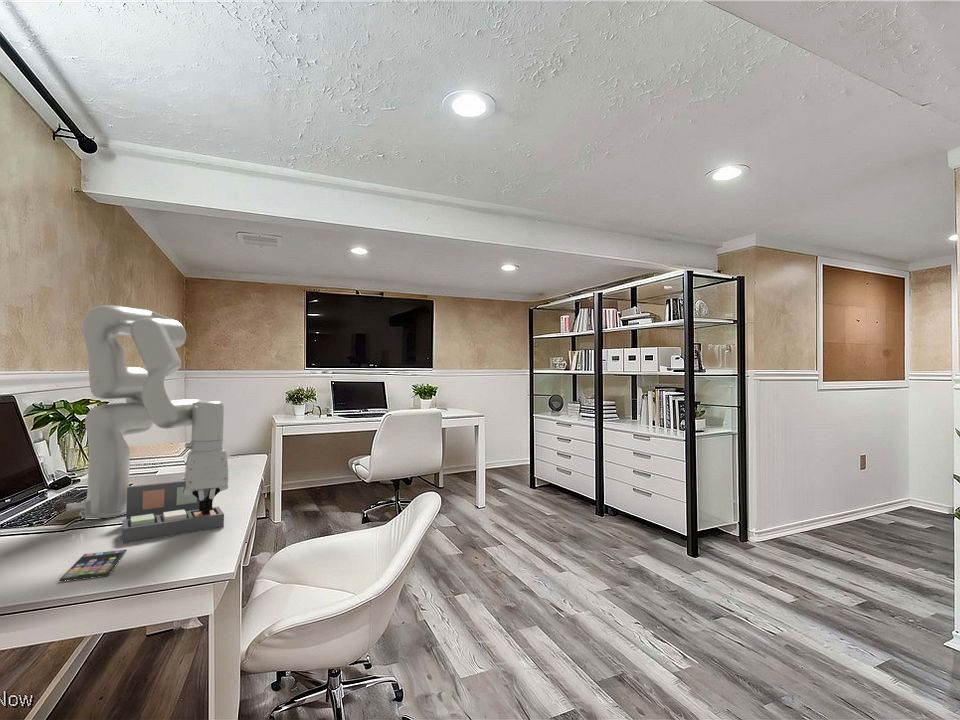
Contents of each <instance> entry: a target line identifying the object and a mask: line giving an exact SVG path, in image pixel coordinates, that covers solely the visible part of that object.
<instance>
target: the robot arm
mask: <svg viewBox="0 0 960 720" xmlns="http://www.w3.org/2000/svg"><path fill="white" fill-rule="evenodd" d="M81 328H82V329H81V330H82V335H83V339H84V340H83V341H84V343H85V347H86V350H87V364H88V376H89V377H88V378H89V388H90V389H89V390H90V392H91V394H92V396H93V397H94V398H97V399H99V400H117V399H118V400H119V399H125V402H119V403H107V404H106V403H105V404H100V405H97V406H94V407H93V408H91V409H90V410H89V411H88V412H87V414H86V416H85V420H84V424H85V431H86V435H87V441H88V443H87V444H88V464H87V468H88V469H87V491H86V492H87V494H86V498H85V500H82V501H80V502H70V503H66V504H65V505H66V506H65V512H68V511H71V512H77V511H80V512H79V517H80V516H81V517H83V518H108V519H110V518H109V517H114V518H116V517H115V516H119V515H123V514H125V513H126V510H127V487H128V486H130V464H131V460H130V459H131V451H130V450H131V449H130V446H129V445H128V443H127V441H126V439H125V438H124V436H127V435H134V434H139V433H144V432H147V431H149V430H150V429H151V428H152V427H153V426H154V425H155V426H156V427H158V428H161V429H166V430H168V429H175V428H182V427H191V440H190V442H188V443H187V442H186V443H185V444H184V448H185V449H190V451H188V453H187V456H186V462H185V468H184V469H185V470H184V471H185V472H184V477H185V479H184V484H185V487H184V490H183V493H184V494H186V495H194V496H195V497H197V498H198V499H199V512H201V513H202V514H203V515H205V514H207V515H208V514H210V510H212V507H213V499H214V498H215V497H216V496H217V494H219V493H220V492H223V491H226V490H229V489H228V488H229V485H228V484H229V463H228V462H229V460H228V454H227V453H228V452H227V449H224V416H225V415H224V414H225V413H224V411H225V410H224V409H225V407H224V406H225V405H224V403H223V402H222V401H219V400H203V399H198V398H185V399H184V398H182V399H181V398H180V399H170V398H169V396H168V393H167V391H166V388H165V379H166V377H168V376H170V375H172V374H174V373H176V372H177V371H178V370H179V369H181V367H182V359H181V358H180V356H179V353H178V350H176V348H177V349H178V348H180V347H182V346H183V345H184V344H185V342H186V339H187V331H186V328H185V327H184V326H183V324H182V323H181V322H179V320H176V319H173V318H170V316H169V317H168V316H165V315H162V314H161V313H158V312H155V311H153V310H149V309H144V308H135V307H129V306H122V305H115V304H113V305H111V304H108V305H107V304H105V305H104V304H102V305H98V306H95V307H94V306H93V308H91V309H90V310H88V312H86V314H85V316H84V318H83V320H82V327H81ZM116 336H126V337H131V338H132V340H133V343H134V345H135V347H136V349H137V352H138V353H139V356H140V358H141V360H142V363H143V365H144V366H145V369H144V368H143V367H138V366H127V364H126V354H125V350H124V347H123V346H122V344H121V342H119V340H118V339H117V338H116ZM205 489H209V490H208V495H207V497H206V498H205V497H204V492H203V490H205ZM123 516H124V515H123ZM119 517H120V516H119Z"/></svg>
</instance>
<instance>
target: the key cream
mask: <svg viewBox="0 0 960 720" xmlns="http://www.w3.org/2000/svg"><path fill="white" fill-rule="evenodd" d="M186 516H187V514H186V512H185V510H176V511H169V512H163V522H167V521H173V520H180V519H186Z"/></svg>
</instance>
